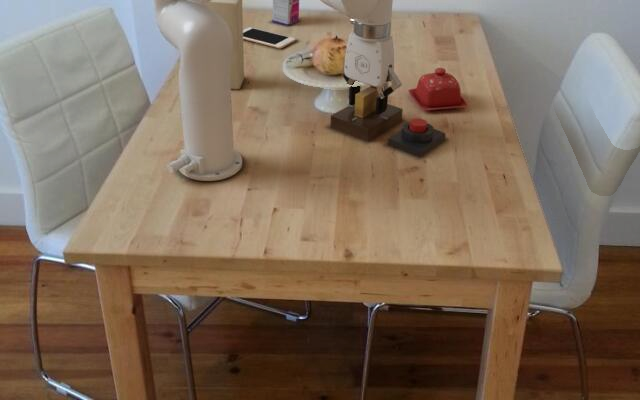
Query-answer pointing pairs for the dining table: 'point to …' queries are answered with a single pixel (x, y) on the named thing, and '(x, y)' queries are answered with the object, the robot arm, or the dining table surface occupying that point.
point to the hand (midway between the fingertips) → (367, 107)
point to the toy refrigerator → (233, 35)
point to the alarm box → (416, 140)
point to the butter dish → (438, 91)
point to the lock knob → (366, 102)
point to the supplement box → (285, 11)
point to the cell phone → (267, 37)
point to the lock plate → (365, 122)
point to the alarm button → (418, 125)
